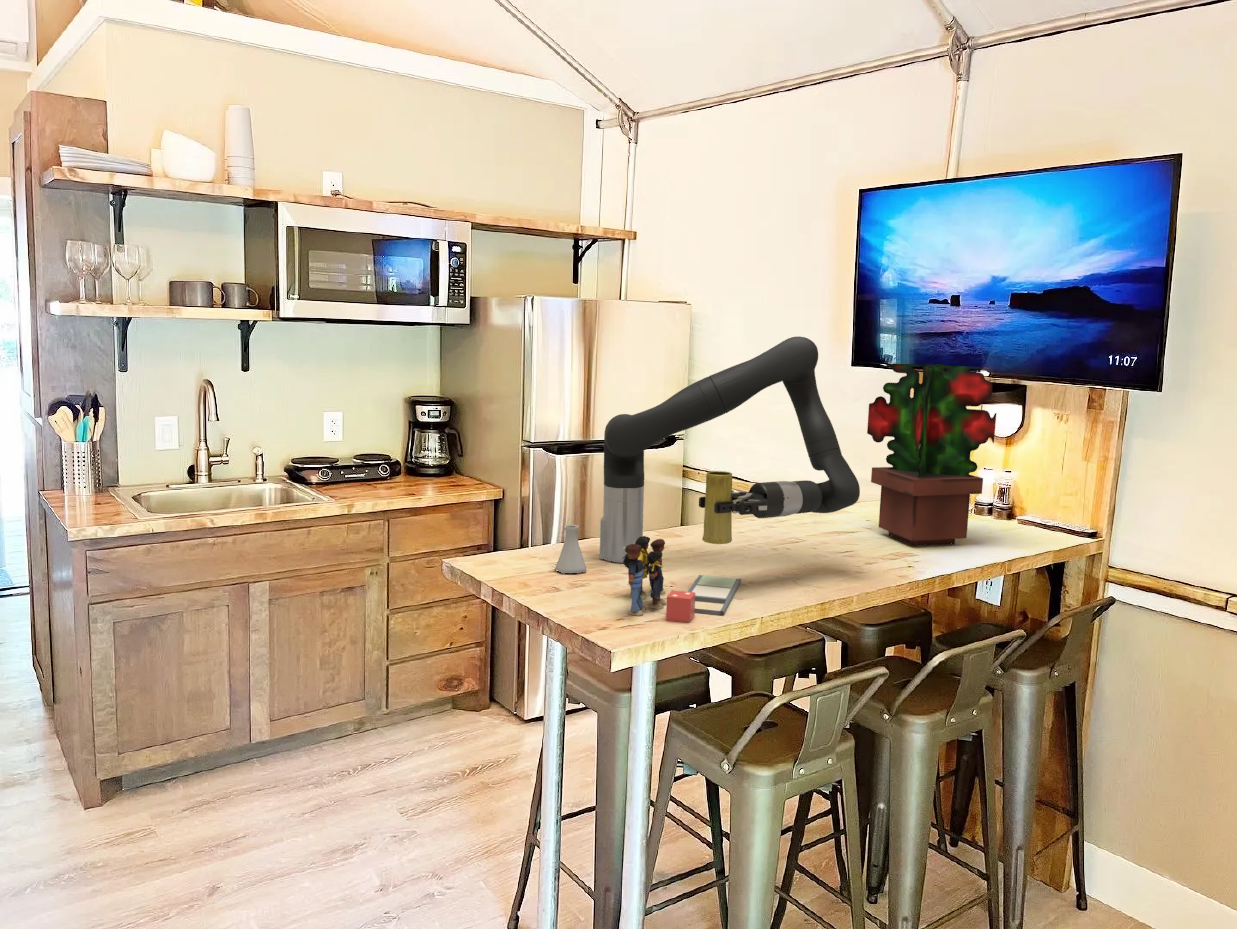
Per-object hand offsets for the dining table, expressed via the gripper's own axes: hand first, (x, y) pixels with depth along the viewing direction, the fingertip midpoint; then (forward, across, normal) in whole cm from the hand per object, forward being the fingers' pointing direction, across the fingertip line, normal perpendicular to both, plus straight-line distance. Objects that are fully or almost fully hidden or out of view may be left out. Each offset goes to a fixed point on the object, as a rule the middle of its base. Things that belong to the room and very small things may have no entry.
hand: (707, 505), depth 197 cm
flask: (+20, -23, +18) cm, 36 cm away
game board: (+2, +5, +18) cm, 18 cm away
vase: (-3, 0, +8) cm, 8 cm away
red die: (+15, +15, +18) cm, 27 cm away
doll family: (+16, +4, +18) cm, 24 cm away
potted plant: (-76, -17, +18) cm, 80 cm away
